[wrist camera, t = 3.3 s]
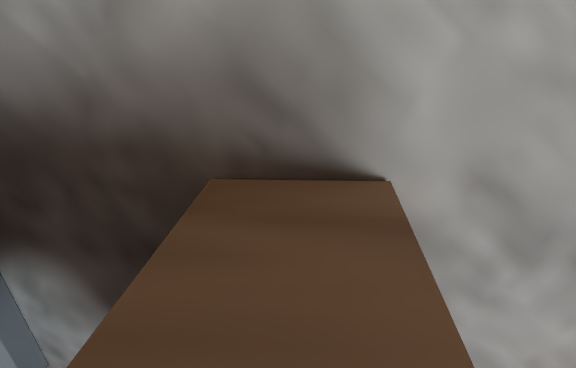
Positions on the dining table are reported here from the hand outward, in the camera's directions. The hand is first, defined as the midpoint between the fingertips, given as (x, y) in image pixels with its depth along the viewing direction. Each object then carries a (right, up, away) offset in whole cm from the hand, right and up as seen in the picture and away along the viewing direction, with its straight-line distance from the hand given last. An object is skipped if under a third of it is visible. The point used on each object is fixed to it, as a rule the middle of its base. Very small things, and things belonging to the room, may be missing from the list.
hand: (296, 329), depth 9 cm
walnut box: (0, +1, +1) cm, 2 cm away
